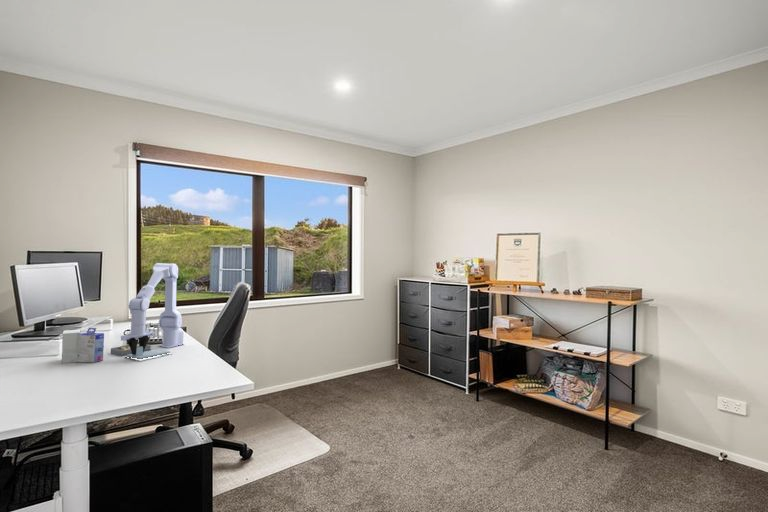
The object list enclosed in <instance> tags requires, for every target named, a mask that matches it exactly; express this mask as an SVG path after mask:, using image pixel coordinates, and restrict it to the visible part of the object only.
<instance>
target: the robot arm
mask: <svg viewBox="0 0 768 512" xmlns="http://www.w3.org/2000/svg"><path fill="white" fill-rule="evenodd" d="M178 278H179V266H178V265H177V264H176V263H167V262H166V263H164V262H163V263H162V262H161V263H160V262H156V263H154V265H153V267H152V274H151V277H150V279H149V280H148V282H147V284H146V285H143V286H142V287H141V289H139V292H138V293H137V294H136V296H135V297H133V298H132V299H130V300H129V303H128V304H127V305H128V310H129V313H130V317H131V320H130V323H131V324H130V333H128V334H125V335H120V341H123V342H124V341H126V343H127V345H129V346H130V349H131V352H132V354H133V355H136V350H137V343H139V346H143V353H144V350H145V347H146V344H148V342H149V341H150V338H151V336H155V331H154V330H149V331H147V330H146V329H147V328H146V325H147V324H146V323H147V322H146V321H147V320H146V319H147V318H146V317H147V311H148V309H149V307H150V303H151V298H152V297H153V295H154V294H155V293H156V290H155V288H156V287H157V285H158V284H159V283H160V282H161V280H162V279H163V280H164V281H165V283H164V284H165V285H164V287H165V288H164V289H165V290H164V292H165V293H164V311H162V312H161V313H160V316H159V319H158V324H159V327H160V329H161V330H162V339H161V341H162V342H161V343H162V344H158V347H161V348H167V349H169V348H174V347H178V345H179V346H183V345H182V344H184V345H185V343H184V329H183V328H182V325H183V318H182V313H181V312H180V311H178V310H177V284H178V283H177V279H178Z"/></svg>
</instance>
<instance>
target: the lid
mask: <svg viewBox="0 0 768 512" xmlns="http://www.w3.org/2000/svg"><path fill="white" fill-rule="evenodd" d="M167 353H171V352H170V351H168V350H163V349H158V348H156V349H151V350H149V351H144V353H143V346H137V350H136V355H133V354H128V355H126V357H132V358H137V359H143V358H148V357H153V356H157V355H162V354H167Z"/></svg>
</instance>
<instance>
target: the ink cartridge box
mask: <svg viewBox="0 0 768 512" xmlns="http://www.w3.org/2000/svg"><path fill="white" fill-rule="evenodd" d="M96 330H97V328H96V327H88V329H87V330H86V332H82V333H81V334H77V342H76V355H75V362H77V363H79V362H81V363H93V364H94V363H97V362H101V361H103V360H104V345H105V344H104V343H105V340H104V339H105V333H104V332H96ZM75 362H74V363H75Z"/></svg>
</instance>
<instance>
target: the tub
mask: <svg viewBox="0 0 768 512" xmlns="http://www.w3.org/2000/svg"><path fill="white" fill-rule="evenodd" d="M137 346H139V342H138V343H137ZM151 347H152V345H151V344H148V343H147V344H146V347H145V350H144V351H148V350H152V348H151ZM110 354H111V355H116V356H119V355H120V356H119V357H125V356H127V355H128V354H132V352H131V349H130V346H129V344H126V345H122V346H115V347H111V348H110ZM124 355H125V356H124Z"/></svg>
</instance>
